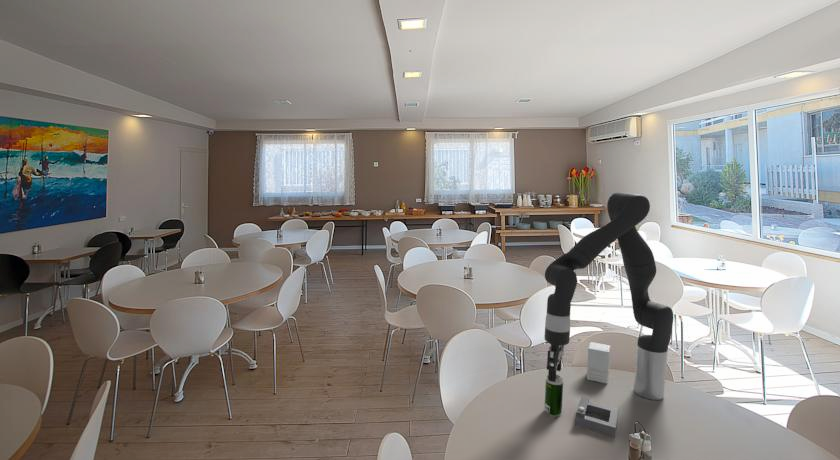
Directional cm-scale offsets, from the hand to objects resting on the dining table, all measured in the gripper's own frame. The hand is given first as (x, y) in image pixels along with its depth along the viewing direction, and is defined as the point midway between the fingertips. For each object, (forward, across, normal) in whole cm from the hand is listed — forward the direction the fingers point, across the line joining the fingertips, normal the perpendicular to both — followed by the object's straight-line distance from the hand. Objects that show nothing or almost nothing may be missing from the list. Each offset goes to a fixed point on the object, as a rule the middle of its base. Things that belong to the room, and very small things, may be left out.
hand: (554, 375), depth 125 cm
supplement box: (+13, +33, -10) cm, 37 cm away
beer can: (+13, 0, 0) cm, 13 cm away
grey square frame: (+13, +2, -13) cm, 18 cm away
